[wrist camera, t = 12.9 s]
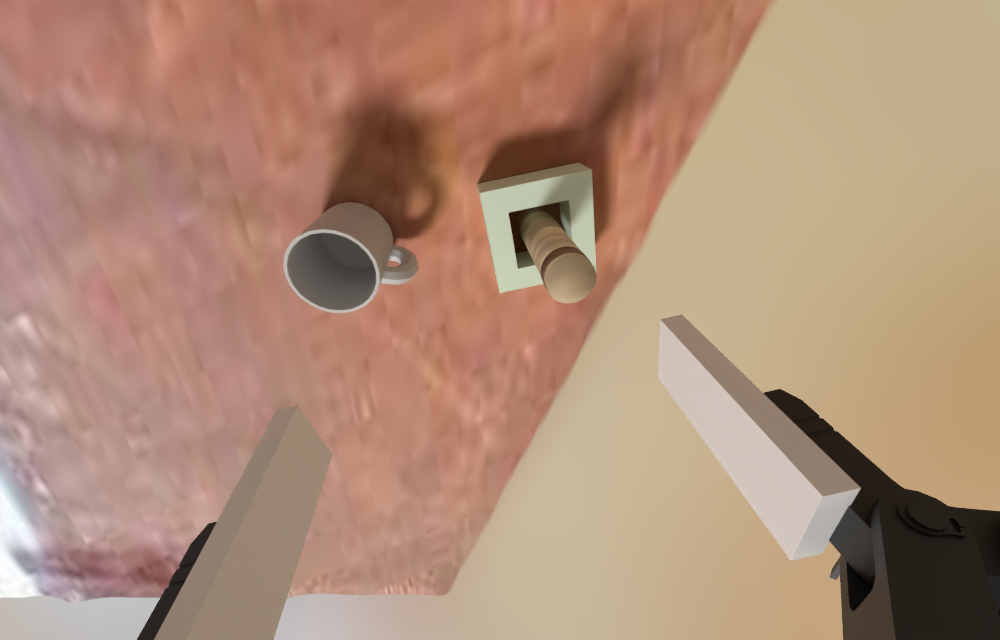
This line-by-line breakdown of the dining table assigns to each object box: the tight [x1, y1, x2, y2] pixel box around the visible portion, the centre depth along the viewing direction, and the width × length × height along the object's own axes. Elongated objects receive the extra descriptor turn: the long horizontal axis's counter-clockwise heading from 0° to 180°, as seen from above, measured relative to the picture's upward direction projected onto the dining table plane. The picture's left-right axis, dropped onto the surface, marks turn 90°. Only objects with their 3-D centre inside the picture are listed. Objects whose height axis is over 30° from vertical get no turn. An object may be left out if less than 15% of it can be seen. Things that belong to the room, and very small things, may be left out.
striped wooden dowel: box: [517, 206, 596, 303], centre depth 32 cm, size 4×4×14 cm
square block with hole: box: [477, 162, 596, 293], centre depth 36 cm, size 10×10×4 cm
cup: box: [283, 202, 418, 313], centre depth 33 cm, size 7×10×9 cm
